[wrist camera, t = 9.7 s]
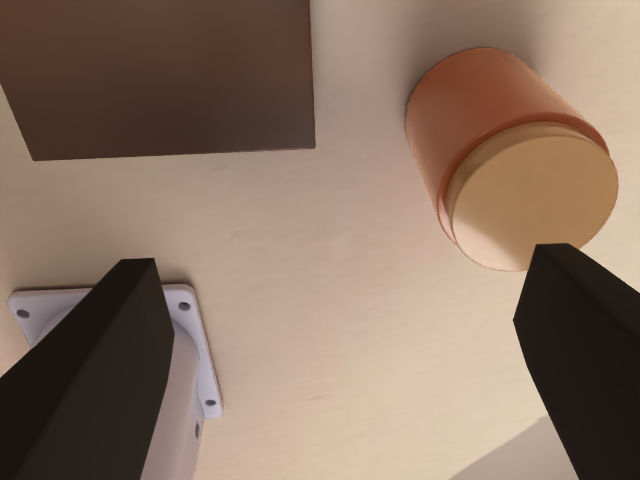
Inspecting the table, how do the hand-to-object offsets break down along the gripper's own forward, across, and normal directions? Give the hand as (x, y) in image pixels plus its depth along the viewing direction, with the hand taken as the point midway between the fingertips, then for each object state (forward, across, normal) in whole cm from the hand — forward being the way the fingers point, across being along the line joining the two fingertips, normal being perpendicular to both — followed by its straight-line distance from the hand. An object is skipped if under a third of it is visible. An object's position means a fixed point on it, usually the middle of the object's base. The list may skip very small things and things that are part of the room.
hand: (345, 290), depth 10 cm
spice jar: (+9, -5, 0) cm, 11 cm away
